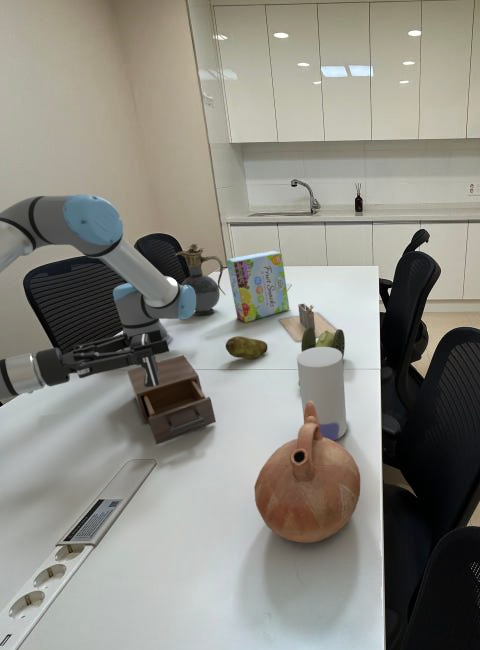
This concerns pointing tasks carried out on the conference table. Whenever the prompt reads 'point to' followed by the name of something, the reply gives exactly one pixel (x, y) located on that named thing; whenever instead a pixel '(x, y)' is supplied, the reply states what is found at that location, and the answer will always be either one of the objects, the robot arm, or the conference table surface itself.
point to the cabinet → (162, 379)
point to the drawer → (178, 410)
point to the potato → (246, 347)
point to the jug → (308, 485)
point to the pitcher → (201, 280)
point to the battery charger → (146, 361)
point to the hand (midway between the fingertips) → (163, 339)
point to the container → (324, 388)
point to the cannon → (323, 340)
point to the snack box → (258, 285)
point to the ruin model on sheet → (306, 323)
